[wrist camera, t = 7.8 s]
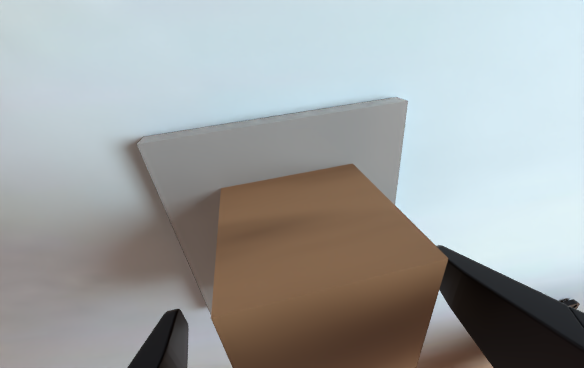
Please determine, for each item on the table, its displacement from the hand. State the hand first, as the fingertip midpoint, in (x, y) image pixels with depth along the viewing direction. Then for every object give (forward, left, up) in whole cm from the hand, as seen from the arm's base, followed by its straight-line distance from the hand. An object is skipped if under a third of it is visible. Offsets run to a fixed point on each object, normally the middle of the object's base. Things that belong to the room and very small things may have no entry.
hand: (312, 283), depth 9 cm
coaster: (0, 0, -4) cm, 4 cm away
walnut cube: (0, 0, -3) cm, 3 cm away
